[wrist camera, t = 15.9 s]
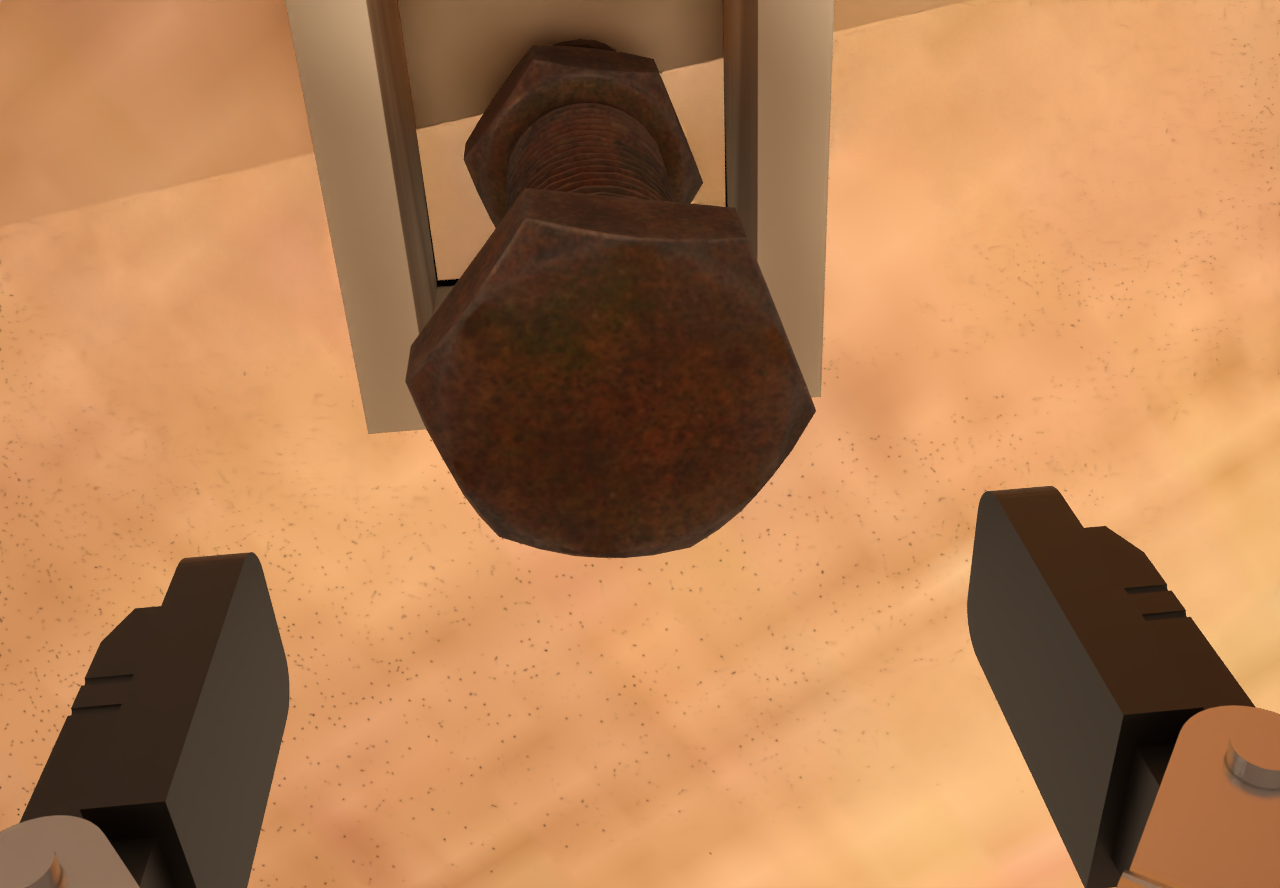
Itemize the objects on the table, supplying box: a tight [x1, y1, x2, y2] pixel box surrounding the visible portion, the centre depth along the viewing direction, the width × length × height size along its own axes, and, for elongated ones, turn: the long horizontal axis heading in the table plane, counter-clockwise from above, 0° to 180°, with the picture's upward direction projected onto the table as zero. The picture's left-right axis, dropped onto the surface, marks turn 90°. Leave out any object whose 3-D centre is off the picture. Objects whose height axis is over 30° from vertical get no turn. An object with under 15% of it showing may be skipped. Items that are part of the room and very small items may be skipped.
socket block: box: [285, 0, 834, 434], centre depth 27 cm, size 10×12×5 cm
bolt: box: [405, 39, 816, 558], centre depth 23 cm, size 6×5×15 cm
